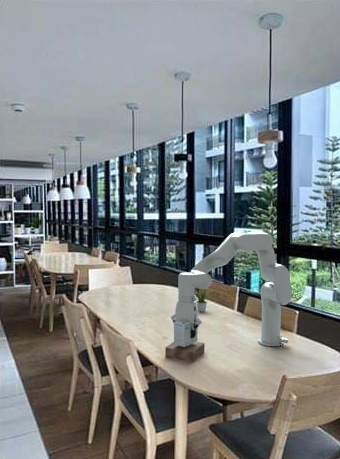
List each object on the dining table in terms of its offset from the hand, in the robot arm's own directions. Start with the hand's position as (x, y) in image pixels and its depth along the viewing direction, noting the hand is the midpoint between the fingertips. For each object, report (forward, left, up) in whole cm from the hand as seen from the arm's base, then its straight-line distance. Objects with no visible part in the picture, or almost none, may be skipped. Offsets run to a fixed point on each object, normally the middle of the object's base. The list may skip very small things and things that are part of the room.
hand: (185, 335), depth 182 cm
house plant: (+29, -77, -9) cm, 83 cm away
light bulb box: (0, 0, -4) cm, 4 cm away
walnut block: (0, 0, -10) cm, 10 cm away
